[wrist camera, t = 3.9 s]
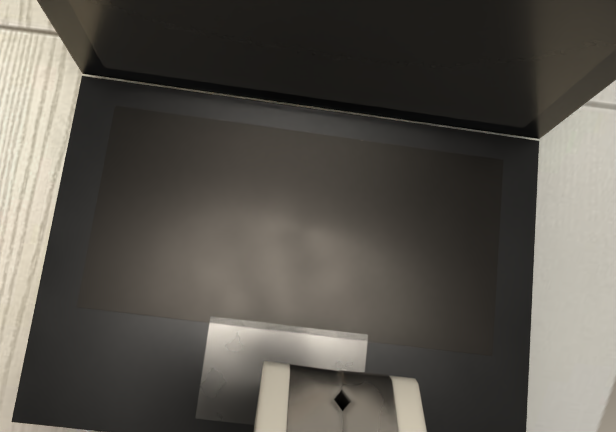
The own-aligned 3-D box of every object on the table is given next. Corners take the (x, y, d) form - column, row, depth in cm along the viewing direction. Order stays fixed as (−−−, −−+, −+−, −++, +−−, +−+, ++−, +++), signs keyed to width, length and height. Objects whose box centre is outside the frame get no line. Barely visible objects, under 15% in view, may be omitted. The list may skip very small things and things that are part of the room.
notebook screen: (903, -138, 16) (897, -162, 16) (-175, -333, 14) (-163, -357, 14) (539, 140, 36) (539, 128, 36) (81, 75, 34) (84, 62, 34)
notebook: (509, 466, 34) (524, 476, 32) (26, 415, 32) (10, 422, 30) (525, 149, 38) (540, 140, 36) (91, 88, 36) (81, 74, 34)
